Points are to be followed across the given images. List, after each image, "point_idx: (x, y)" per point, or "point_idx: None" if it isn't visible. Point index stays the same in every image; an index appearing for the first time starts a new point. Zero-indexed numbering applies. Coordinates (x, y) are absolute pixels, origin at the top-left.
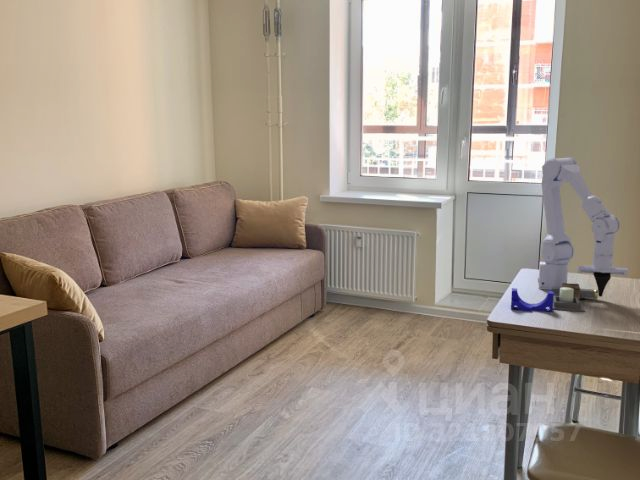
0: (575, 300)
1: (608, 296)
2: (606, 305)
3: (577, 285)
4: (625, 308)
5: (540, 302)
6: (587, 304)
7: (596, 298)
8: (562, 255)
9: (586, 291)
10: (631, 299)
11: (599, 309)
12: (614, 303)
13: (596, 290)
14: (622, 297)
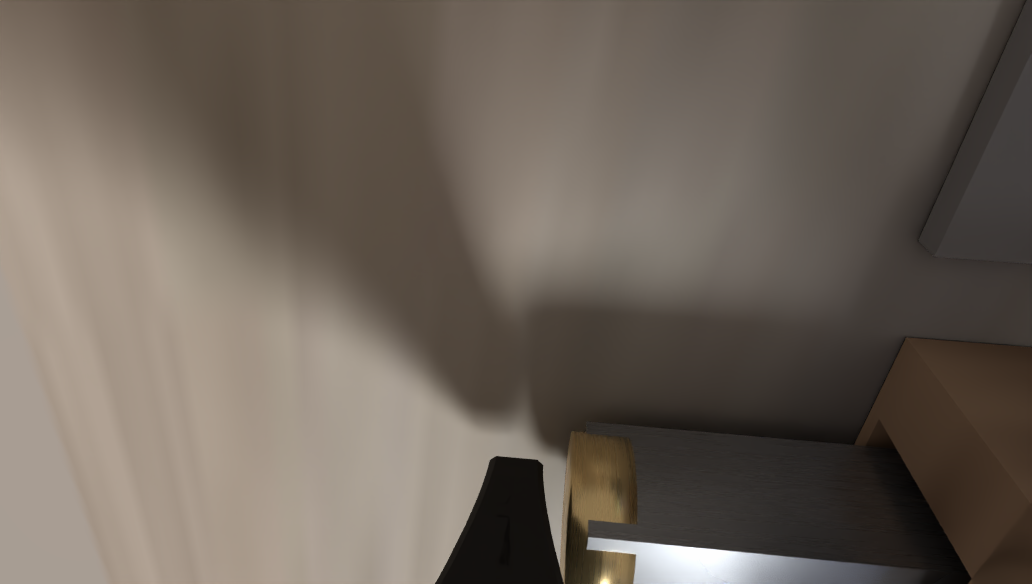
0: None
1: (388, 573)
2: (450, 157)
3: None
4: (79, 2)
5: None
6: (832, 155)
7: (583, 432)
8: None
9: (795, 547)
10: (114, 502)
11: None
12: (308, 307)
13: (589, 575)
14: (227, 555)
